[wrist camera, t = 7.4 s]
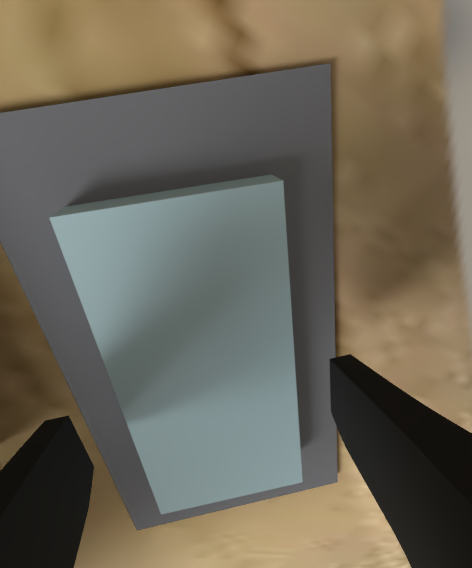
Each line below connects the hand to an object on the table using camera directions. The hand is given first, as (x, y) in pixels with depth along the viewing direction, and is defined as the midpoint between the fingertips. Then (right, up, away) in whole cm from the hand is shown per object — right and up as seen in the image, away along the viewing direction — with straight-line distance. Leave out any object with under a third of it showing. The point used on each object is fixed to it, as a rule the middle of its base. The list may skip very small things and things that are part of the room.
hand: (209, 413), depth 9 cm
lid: (0, +1, +2) cm, 2 cm away
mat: (0, +1, +2) cm, 3 cm away
